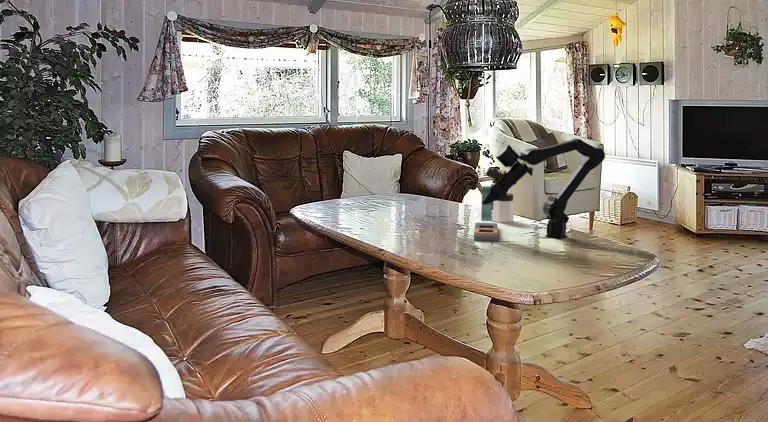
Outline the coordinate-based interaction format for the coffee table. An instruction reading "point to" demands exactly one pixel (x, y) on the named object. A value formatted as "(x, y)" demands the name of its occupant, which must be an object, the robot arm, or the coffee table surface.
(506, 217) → the jar
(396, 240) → the coffee table surface
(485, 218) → the peg
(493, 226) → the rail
